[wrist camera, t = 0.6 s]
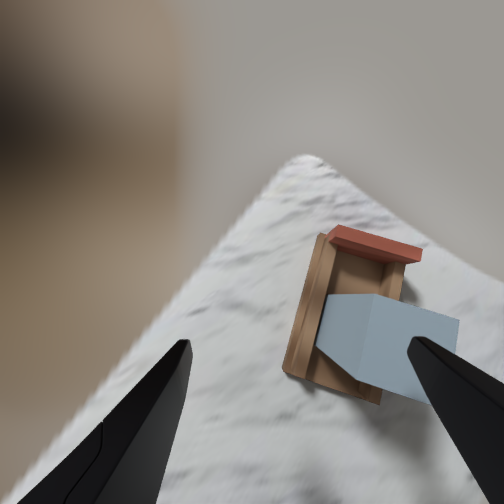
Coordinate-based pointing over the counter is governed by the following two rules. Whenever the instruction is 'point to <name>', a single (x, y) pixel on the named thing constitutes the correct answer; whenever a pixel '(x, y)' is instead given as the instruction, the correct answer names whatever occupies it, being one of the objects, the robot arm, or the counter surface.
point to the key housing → (343, 282)
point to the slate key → (380, 339)
